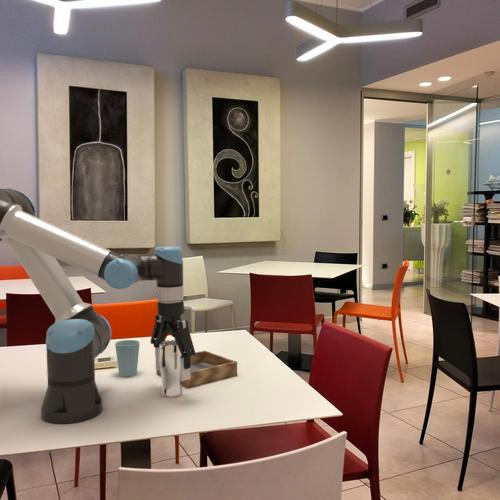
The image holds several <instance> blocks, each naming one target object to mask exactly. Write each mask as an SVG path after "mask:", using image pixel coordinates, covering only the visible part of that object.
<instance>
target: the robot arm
mask: <svg viewBox="0 0 500 500" xmlns="http://www.w3.org/2000/svg"><path fill="white" fill-rule="evenodd" d="M36 212H37V211H36V205H35V203H34V201H33V200H32V199H31V197H30V196H29V195H27V194H26V193H24V192H22V191H20V190H17V189H15V188H14V189H13V188H0V243H1V245H5V246H9V247H10V249H11V250H12V252H13V254H14V255H15V257H16V258H17V260H18V262H19V264H21V266H22V267H23V269H24V271H25V272H26V274H27V276H28V277H29V279H30V280H31V281H32V284H33V285H34V287H35V288H36V290H37V291H38V293H39V294H40V296H41V297H42V299H43V302H44V303H45V304H46V305H47V307H48V308H49V310H50V311H51V313H52V315H53V316H54V318H55V320H54V323H52V325H50V326H49V327H48V329H47V330H46V338H45V346H46V369H47V370H46V375H47V376H46V377H47V387H46V391H45V394H44V397H43V399H42V404H41V408H40V413H41V419H42V420H44V421H45V422H48V423H51V424H52V423H53V424H72V423H73V424H74V423H79V422H83V421H86V420H89V419H92V418H95V417H97V416H98V415H100V413H102V412H103V400H102V398H103V397H101V393H100V390H99V389H98V385H97V383H96V373H95V372H96V371H95V370H96V369H95V368H96V367H95V366H96V365H95V364H96V363H95V359H96V358H97V357H98V356H100V355H101V354H102V353H103V352H104V351H105V350H106V349H107V347H108V345H109V343H110V341H111V339H112V328H111V325H110V323H109V321H108V320H107V319H106V318H105V317H104V316H103V315H100V314H98V313H97V311H96V310H95V308H94V306H93V305H92V304H91V303H88V302H84V301H83V299H82V298H81V297H80V295H79V294H78V291H77V290H76V289H75V287H74V285H73V284H72V282H71V280H70V279H69V277H68V276H67V274H66V273H65V271H64V270H63V268H62V266H61V265H60V263H59V262H58V261H61V262H63V263H65V264H68V265H70V266H72V267H74V268H77V269H79V270H81V271H83V272H86V273H88V274H90V275H93V276H95V277H97V278H99V279H101V280H104V281H105V282H106V284H107V285H108V286H109V287H111V288H113V289H116V290H123V289H127V288H130V287H132V286H133V285H134V284H135V283H137V282H140V281H143V282H144V281H156V300H157V301H158V302H157V303H156V306H157V310H156V311H157V314H155V315H154V324H153V329H152V333H151V337H150V341H149V342H150V344H151V345H153V347H154V353H155V354H154V355H155V370H160V366H159V343H160V342H162V341H166V339H167V338H168V335H169V334H170V335H171V337H173V338H174V340H175V341H176V343H177V345H178V348H179V350H180V352H181V355H182V356H181V357H180V368H181V381H184V380H188V379H191V377H190V367H191V365H190V364H191V362H190V357H191V356H193V355H195V352H196V351H195V347H194V343H193V340H192V335H191V332H190V329H189V322H188V320H186V319H184V320H182V319H181V318H182V317H181V316H182V315H183V314H184V313H185V301H183V300H184V298H185V297H184V289H185V288H184V261H183V259H184V258H183V250H182V248H181V247H179V246H173V245H170V246H168V245H167V246H158V247H155V251H154V253H150V254H149V253H143V254H142V253H141V254H140V253H138V254H137V253H135V254H134V253H133V254H132V253H131V254H130V253H124V254H119V253H116V252H114V251H112V250H110V249H108V248H105V246H101V245H99V244H96V243H95V242H92V241H90V240H89V239H86V238H84V237H81V236H79V235H76V234H75V233H72V232H70V231H67V230H66V229H64V228H62V227H59V226H57V225H54V224H52V223H50V222H48V221H45V220H44V219H41V218H38V217H37V216H36Z"/></svg>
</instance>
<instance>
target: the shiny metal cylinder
mask: <svg viewBox="0 0 500 500" xmlns="http://www.w3.org/2000/svg"><path fill="white" fill-rule="evenodd" d="M181 356H182V355H181V352H180V350H179V348H178V345H177V343H176V341H175V339H168V340H165V341H162V342H160V343H159V366H160V371H161V376H160V377H161V391H160V396H161V397H163V398H170V399H173V398H178V397H180V396H182V395H183V389H182V388H183V387H182V386H181V368H180V357H181Z"/></svg>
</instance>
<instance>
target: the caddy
mask: <svg viewBox="0 0 500 500" xmlns="http://www.w3.org/2000/svg"><path fill="white" fill-rule="evenodd" d="M190 362H191V364H190V365H191V367H190V377H191V379H188V380H184V381H181V387H182V388H185V389H192V388H194V387H198V386H199V387H200V386H202V385H207V384H211V383H214V382H218V381H222V380H227V379H229V378H233V377H238V361H236V360H233V359H230V358H227V357H224V356H221V355H220V354H216V353H213V352H210V351H207V350H201V351H197V352H196V351H195V355H193V356H191V357H190ZM155 370H156V369H155ZM156 375H157V376H159V377H161V371H160V370H156Z"/></svg>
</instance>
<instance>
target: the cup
mask: <svg viewBox="0 0 500 500" xmlns="http://www.w3.org/2000/svg"><path fill="white" fill-rule="evenodd" d="M140 344H141V343H140V340H135V339H124V340H123V339H122V340H120V341H116V342H115V343H114V346H115V353H116V354H115V355H116V360H117V361H116V362H117V367H118V368H117V369H118V374H119V376H120V377H123V378H130V377H134V376H136V375H137V373H138V363H139V354H140V353H139V352H140Z"/></svg>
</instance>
